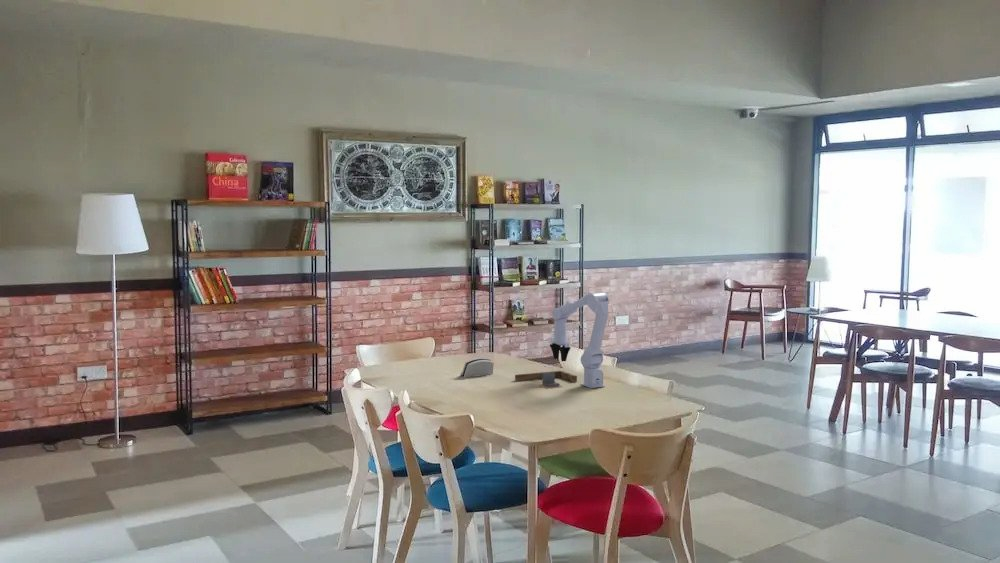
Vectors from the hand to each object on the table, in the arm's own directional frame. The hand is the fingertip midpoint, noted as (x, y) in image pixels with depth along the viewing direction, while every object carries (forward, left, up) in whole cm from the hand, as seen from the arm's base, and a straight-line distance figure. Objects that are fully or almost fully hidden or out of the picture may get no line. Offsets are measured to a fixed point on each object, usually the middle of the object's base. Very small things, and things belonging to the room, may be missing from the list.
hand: (559, 359), depth 402 cm
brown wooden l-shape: (-2, +9, -9) cm, 13 cm away
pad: (-13, +12, -9) cm, 20 cm away
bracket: (-13, +12, -9) cm, 20 cm away
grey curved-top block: (+25, +33, -10) cm, 42 cm away
